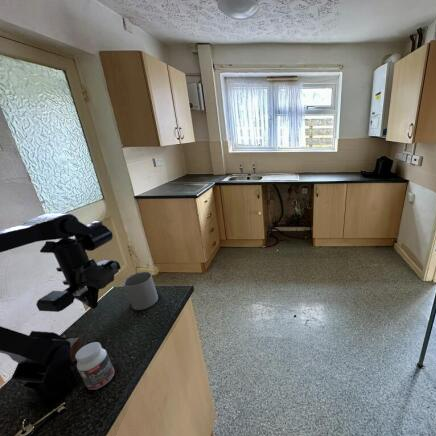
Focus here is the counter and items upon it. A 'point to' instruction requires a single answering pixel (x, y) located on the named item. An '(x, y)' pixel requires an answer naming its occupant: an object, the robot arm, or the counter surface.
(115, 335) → the counter surface
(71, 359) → the walnut block
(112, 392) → the counter surface
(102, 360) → the pill bottle
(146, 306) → the cup
